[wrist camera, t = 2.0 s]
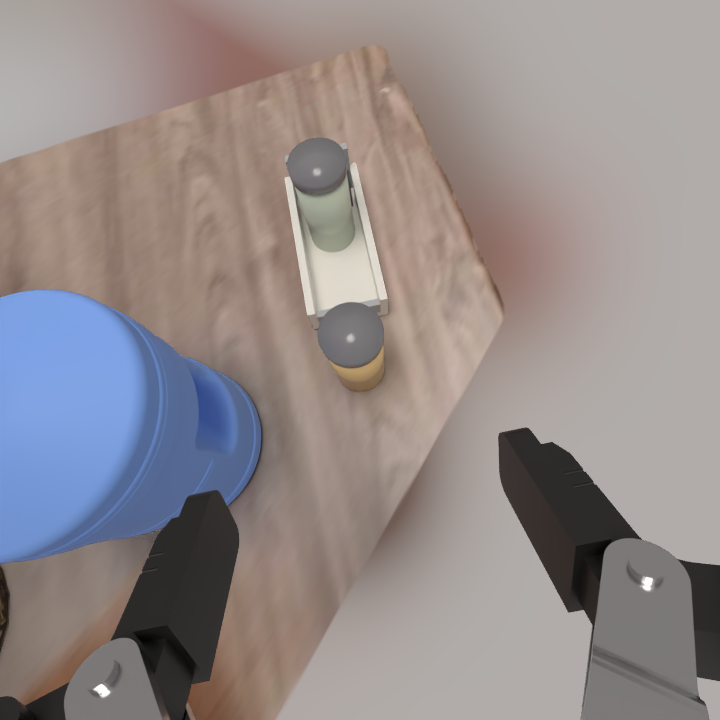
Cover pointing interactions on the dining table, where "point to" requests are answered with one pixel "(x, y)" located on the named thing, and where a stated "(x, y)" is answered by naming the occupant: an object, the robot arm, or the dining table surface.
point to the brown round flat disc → (3, 606)
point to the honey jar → (354, 345)
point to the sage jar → (323, 192)
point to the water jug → (106, 427)
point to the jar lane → (338, 259)
